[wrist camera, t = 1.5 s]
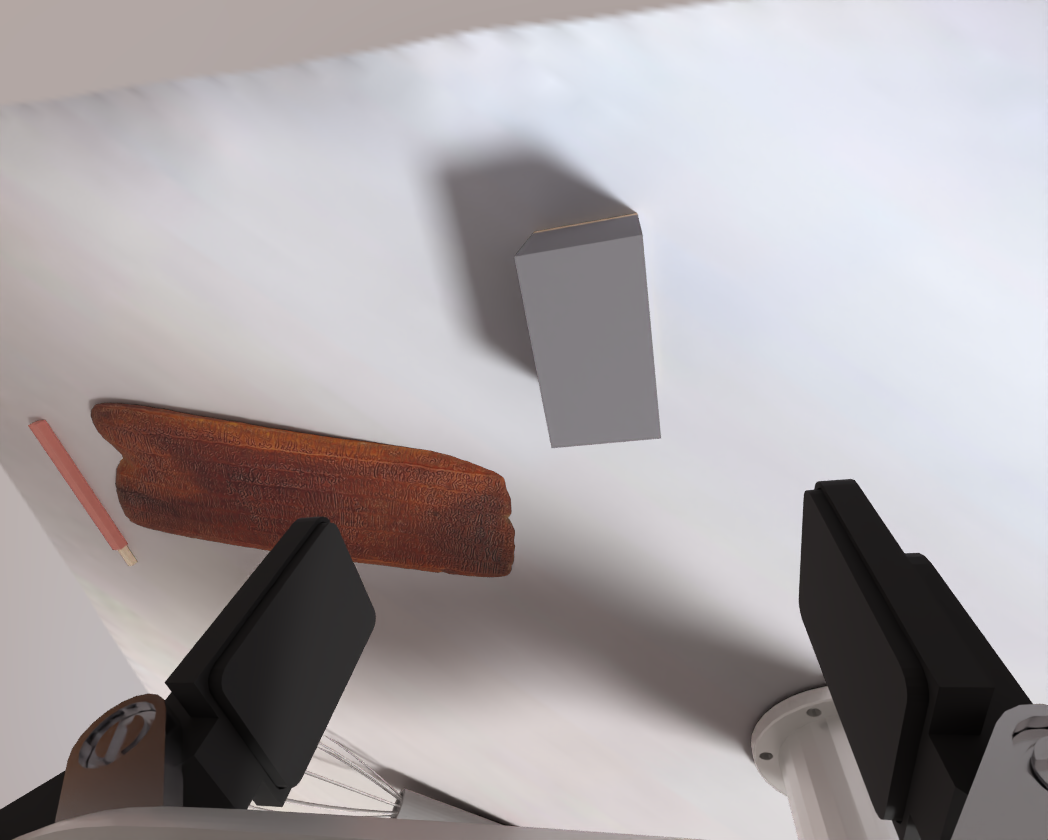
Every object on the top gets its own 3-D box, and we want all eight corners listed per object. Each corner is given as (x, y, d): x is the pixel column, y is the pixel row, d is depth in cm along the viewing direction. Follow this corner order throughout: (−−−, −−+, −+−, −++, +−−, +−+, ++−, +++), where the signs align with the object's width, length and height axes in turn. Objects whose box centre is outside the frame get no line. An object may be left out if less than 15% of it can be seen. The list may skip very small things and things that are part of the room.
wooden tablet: (138, 518, 38) (119, 533, 36) (96, 389, 33) (72, 402, 31) (513, 586, 35) (508, 606, 34) (527, 458, 30) (523, 475, 29)
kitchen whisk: (552, 863, 51) (544, 952, 46) (223, 710, 47) (171, 786, 42) (586, 840, 48) (582, 932, 43) (239, 675, 45) (186, 751, 39)
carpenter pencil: (47, 418, 34) (36, 424, 33) (140, 560, 39) (133, 566, 38) (38, 420, 34) (27, 425, 33) (132, 560, 39) (124, 567, 38)
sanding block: (637, 212, 23) (642, 234, 18) (653, 382, 27) (660, 438, 22) (534, 231, 24) (513, 257, 19) (562, 392, 28) (551, 447, 23)
